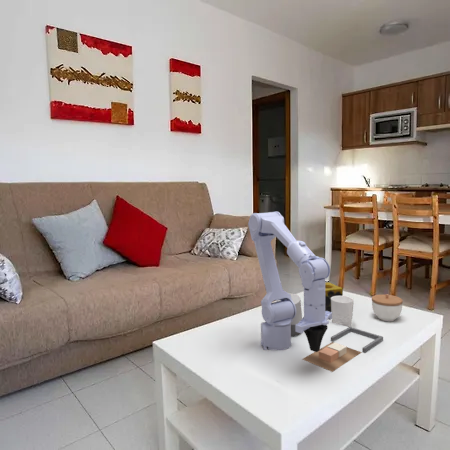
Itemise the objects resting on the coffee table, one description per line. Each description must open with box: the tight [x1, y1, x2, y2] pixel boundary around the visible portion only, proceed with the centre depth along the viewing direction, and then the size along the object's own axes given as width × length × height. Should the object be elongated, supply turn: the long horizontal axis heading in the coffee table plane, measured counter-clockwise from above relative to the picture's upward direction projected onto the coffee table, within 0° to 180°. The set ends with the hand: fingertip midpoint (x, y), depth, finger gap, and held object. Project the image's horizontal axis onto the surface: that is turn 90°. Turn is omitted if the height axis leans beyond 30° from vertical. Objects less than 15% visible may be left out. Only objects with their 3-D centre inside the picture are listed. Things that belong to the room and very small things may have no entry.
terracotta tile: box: [319, 347, 339, 363], centre depth 105 cm, size 4×4×2 cm
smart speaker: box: [276, 292, 303, 338], centre depth 124 cm, size 10×9×14 cm
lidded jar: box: [371, 293, 404, 322], centre depth 137 cm, size 11×11×9 cm
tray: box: [330, 326, 384, 354], centre depth 116 cm, size 12×12×3 cm
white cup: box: [331, 295, 354, 328], centre depth 132 cm, size 8×8×10 cm
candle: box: [325, 281, 344, 312], centre depth 149 cm, size 10×10×10 cm
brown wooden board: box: [302, 341, 363, 373], centre depth 106 cm, size 16×10×2 cm, turn 131°
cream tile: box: [327, 341, 347, 357], centre depth 108 cm, size 4×4×2 cm
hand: (314, 350), depth 100 cm, fingers closed
